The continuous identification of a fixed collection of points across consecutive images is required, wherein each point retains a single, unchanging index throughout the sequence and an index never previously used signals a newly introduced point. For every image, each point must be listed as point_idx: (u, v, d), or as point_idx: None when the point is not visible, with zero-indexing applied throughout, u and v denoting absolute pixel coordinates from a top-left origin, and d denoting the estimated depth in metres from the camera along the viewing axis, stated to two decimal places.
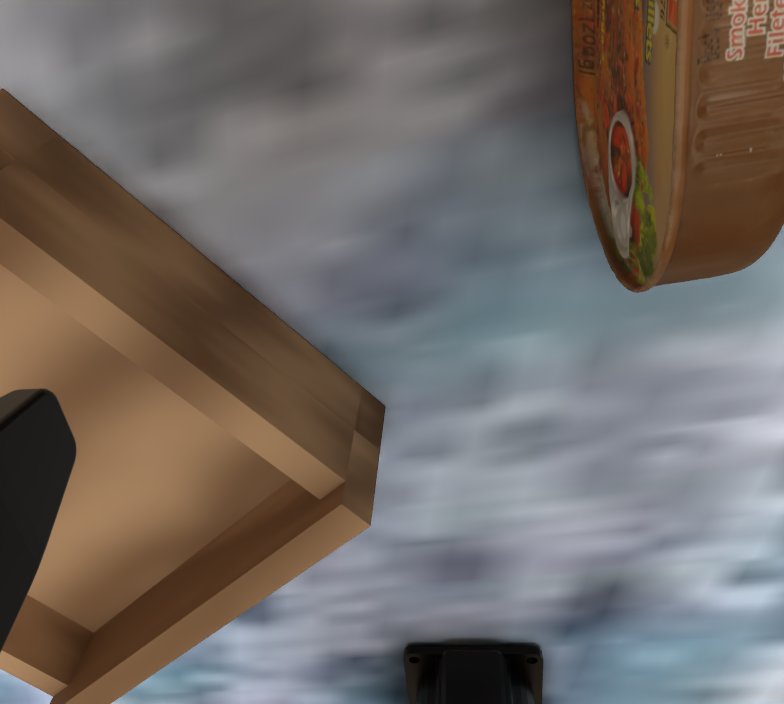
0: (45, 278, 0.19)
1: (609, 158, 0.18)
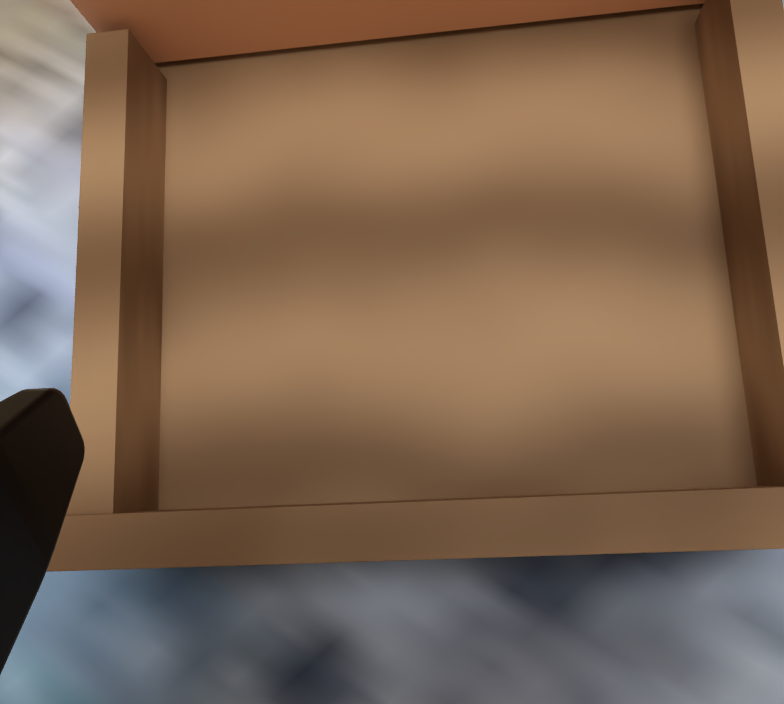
0: (760, 54, 0.17)
1: None
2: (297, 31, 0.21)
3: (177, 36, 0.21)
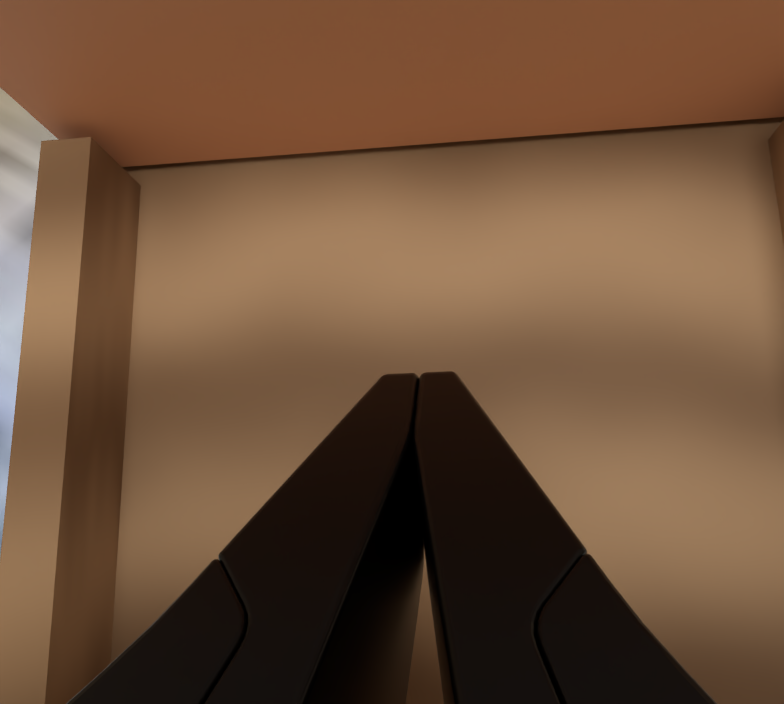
0: None
1: None
2: (294, 138, 0.17)
3: (151, 141, 0.17)
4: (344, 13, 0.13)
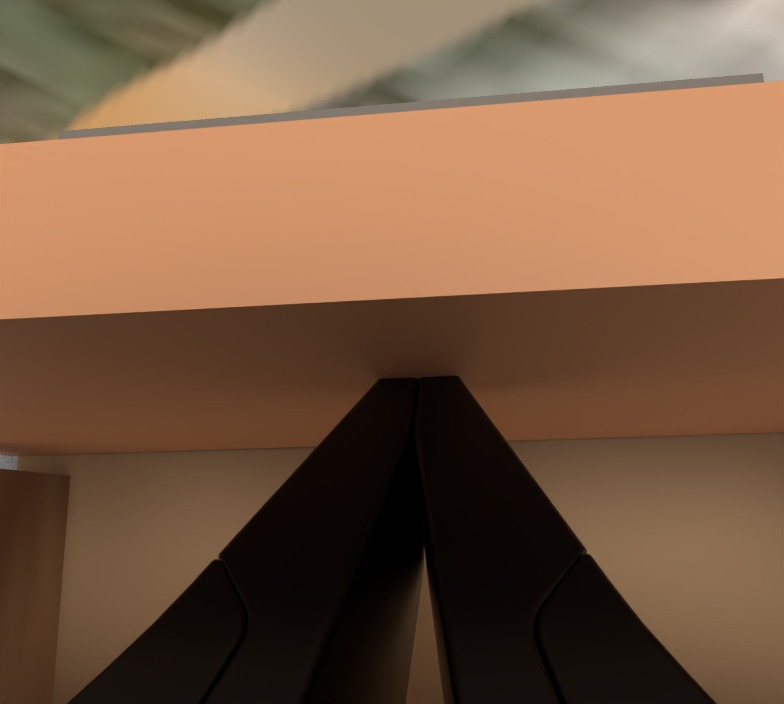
0: None
1: None
2: (260, 443, 0.14)
3: (76, 447, 0.14)
4: (314, 402, 0.09)
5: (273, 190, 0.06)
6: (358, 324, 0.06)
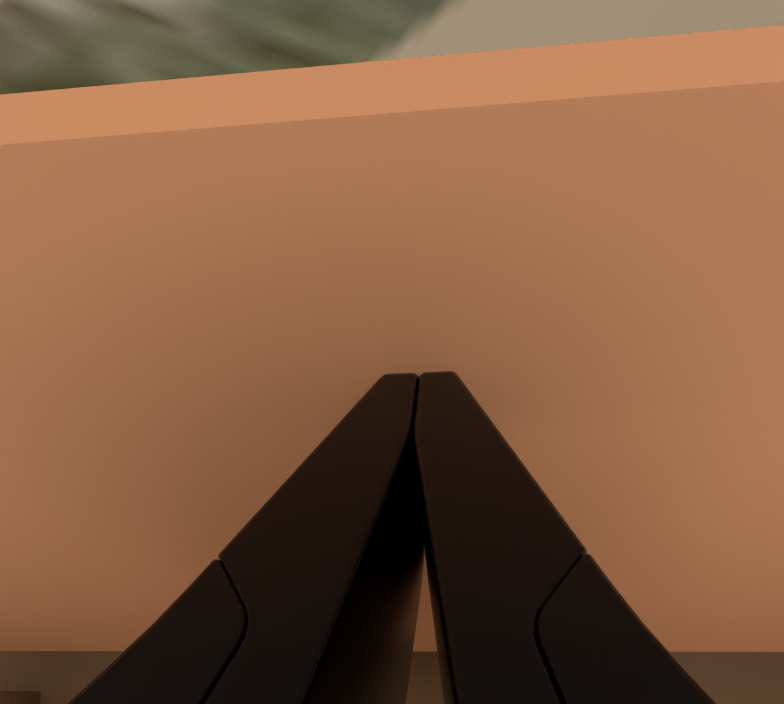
0: None
1: None
2: None
3: (29, 616, 0.12)
4: (311, 443, 0.09)
5: (311, 85, 0.07)
6: (367, 179, 0.07)
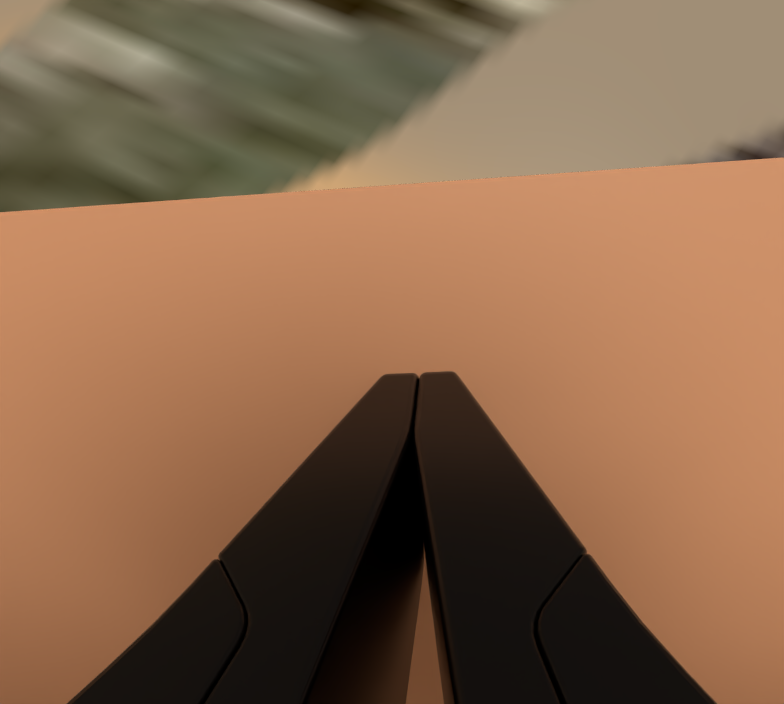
0: None
1: None
2: None
3: None
4: None
5: None
6: (390, 238, 0.08)
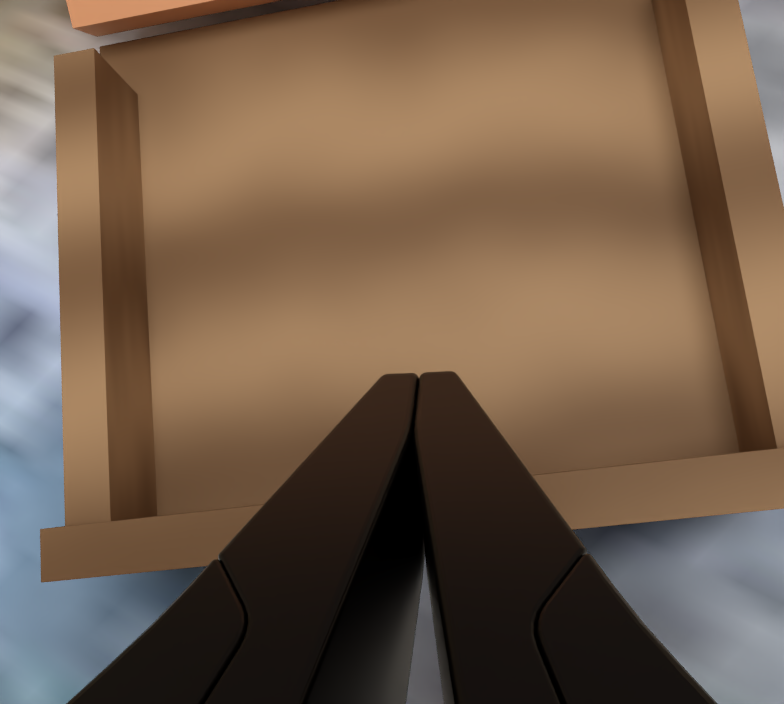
0: (713, 26, 0.18)
1: None
2: None
3: None
4: None
5: None
6: None
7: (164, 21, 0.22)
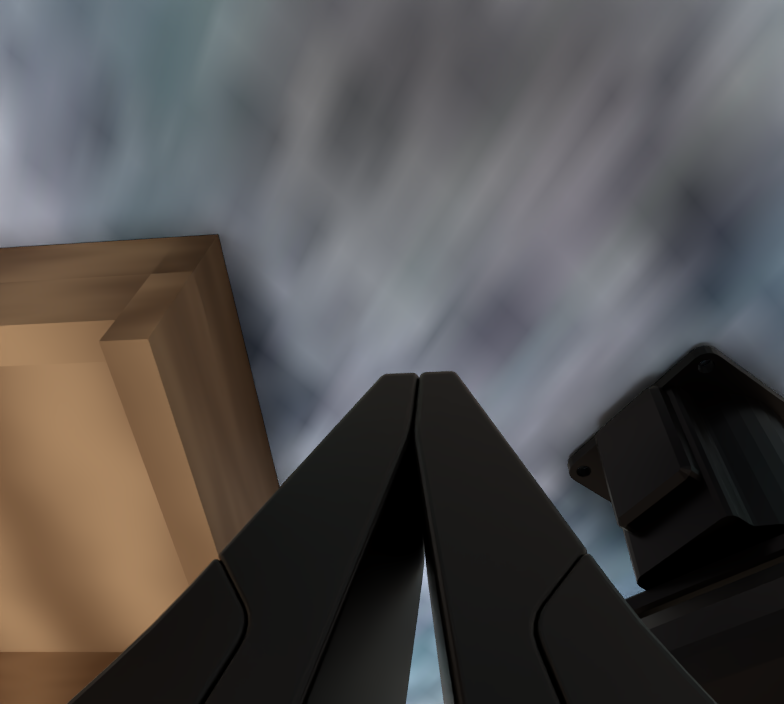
0: None
1: None
2: None
3: None
4: None
5: None
6: None
7: None
